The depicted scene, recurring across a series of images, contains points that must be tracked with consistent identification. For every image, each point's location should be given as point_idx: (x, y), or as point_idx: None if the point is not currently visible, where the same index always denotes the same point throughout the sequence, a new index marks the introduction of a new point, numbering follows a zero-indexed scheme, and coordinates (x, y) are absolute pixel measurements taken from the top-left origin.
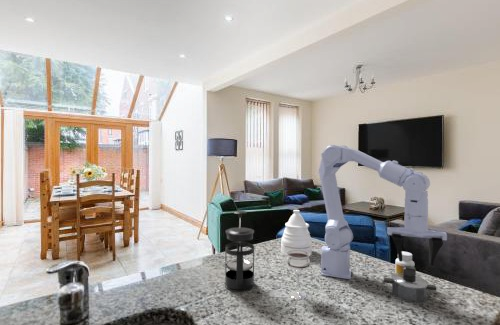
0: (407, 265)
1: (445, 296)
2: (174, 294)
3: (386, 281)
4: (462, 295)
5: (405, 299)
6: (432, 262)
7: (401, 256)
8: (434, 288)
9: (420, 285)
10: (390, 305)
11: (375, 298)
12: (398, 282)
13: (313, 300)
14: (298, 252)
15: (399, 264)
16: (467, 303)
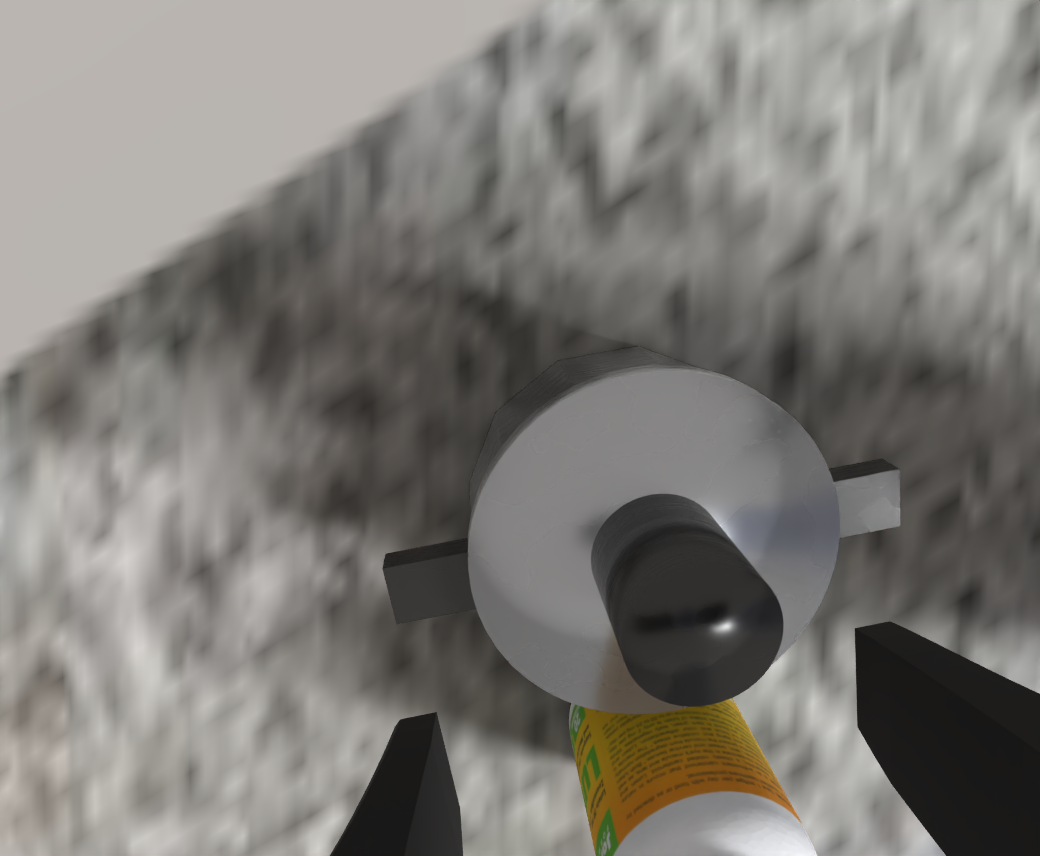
0: (691, 813)
1: (322, 646)
2: None
3: (866, 468)
4: (194, 743)
5: (651, 352)
6: (405, 745)
7: (927, 662)
8: (401, 560)
9: (543, 457)
10: (779, 177)
11: (907, 248)
12: (776, 405)
13: None
14: None
15: (776, 806)
16: (154, 611)
